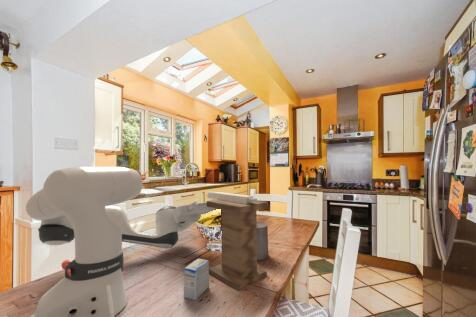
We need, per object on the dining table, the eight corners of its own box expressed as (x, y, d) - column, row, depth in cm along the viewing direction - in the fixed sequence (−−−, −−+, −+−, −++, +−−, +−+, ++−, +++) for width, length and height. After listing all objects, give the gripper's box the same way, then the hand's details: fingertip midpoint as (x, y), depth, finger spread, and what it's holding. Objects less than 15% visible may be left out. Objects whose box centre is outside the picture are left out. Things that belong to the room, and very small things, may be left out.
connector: (250, 205, 74) (250, 197, 74) (205, 197, 93) (205, 191, 93) (258, 203, 76) (258, 196, 76) (212, 196, 96) (212, 191, 96)
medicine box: (197, 284, 74) (197, 258, 74) (209, 287, 72) (209, 259, 72) (183, 297, 66) (183, 268, 67) (196, 301, 65) (196, 270, 65)
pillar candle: (258, 250, 103) (257, 217, 104) (273, 257, 96) (272, 221, 96) (241, 255, 98) (240, 221, 98) (255, 263, 90) (255, 225, 90)
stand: (240, 291, 69) (239, 207, 70) (206, 271, 83) (206, 201, 84) (269, 276, 79) (268, 202, 80) (235, 260, 92) (234, 197, 93)
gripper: (211, 217, 111) (226, 205, 103) (172, 224, 98) (186, 212, 89) (207, 205, 114) (221, 193, 106) (169, 210, 100) (182, 197, 92)
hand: (205, 202), depth 97 cm, fingers open, 8 cm apart
